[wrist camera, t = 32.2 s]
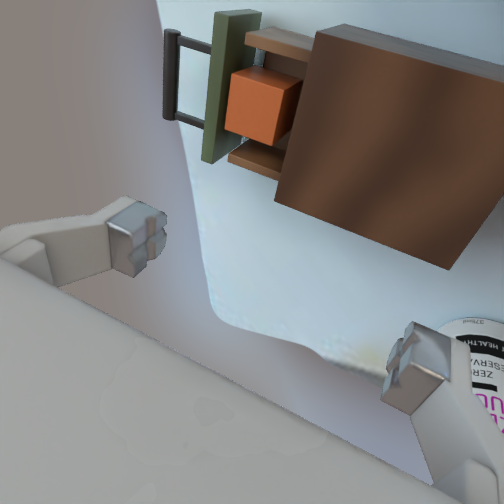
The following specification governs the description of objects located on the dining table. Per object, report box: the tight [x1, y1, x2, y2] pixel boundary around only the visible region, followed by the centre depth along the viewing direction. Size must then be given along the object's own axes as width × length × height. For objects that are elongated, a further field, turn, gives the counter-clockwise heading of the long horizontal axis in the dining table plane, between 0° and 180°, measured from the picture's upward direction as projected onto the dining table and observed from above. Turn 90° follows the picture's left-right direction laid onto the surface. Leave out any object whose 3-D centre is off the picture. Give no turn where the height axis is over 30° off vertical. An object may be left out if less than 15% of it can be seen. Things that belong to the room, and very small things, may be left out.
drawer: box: [163, 9, 315, 181], centre depth 30 cm, size 18×11×6 cm, turn 79°
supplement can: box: [437, 318, 504, 434], centre depth 33 cm, size 8×8×15 cm
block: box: [225, 65, 303, 146], centre depth 30 cm, size 4×4×4 cm
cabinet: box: [274, 24, 504, 270], centre depth 28 cm, size 15×13×8 cm
